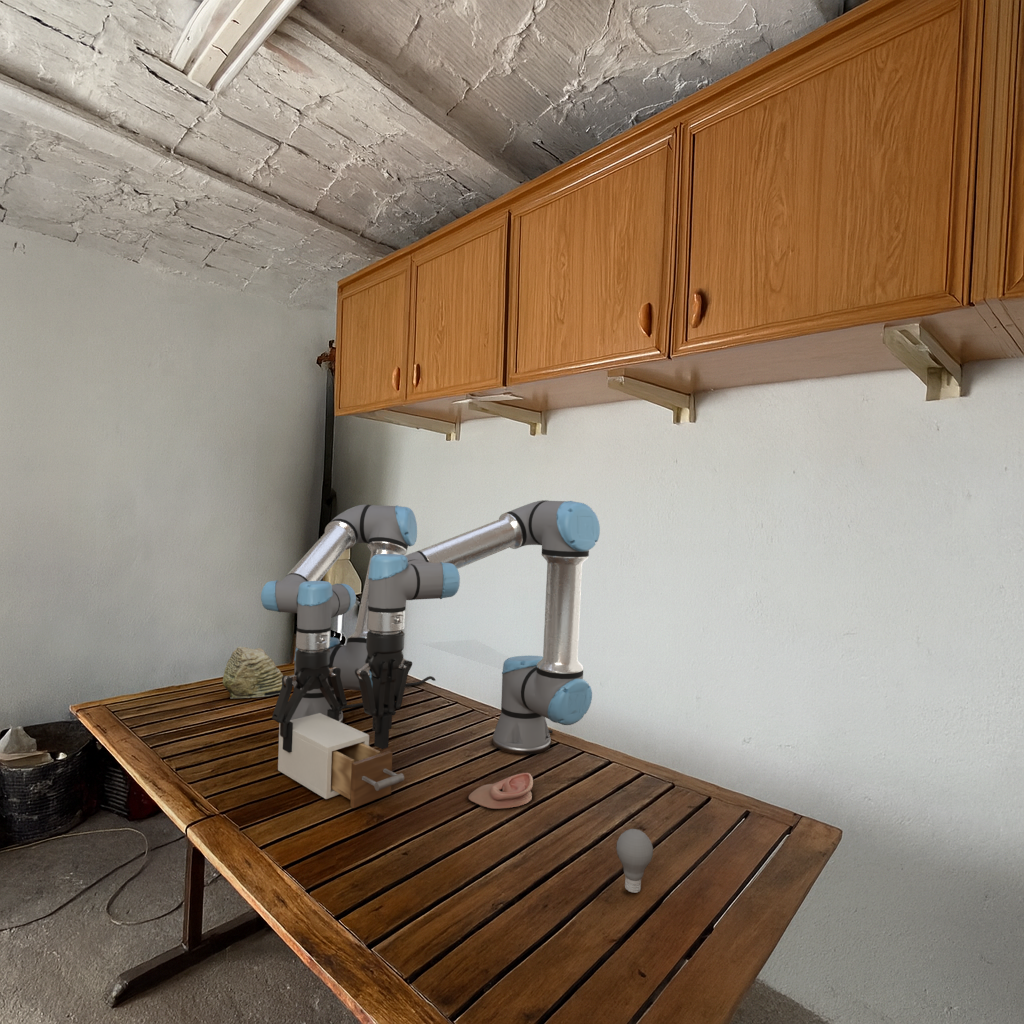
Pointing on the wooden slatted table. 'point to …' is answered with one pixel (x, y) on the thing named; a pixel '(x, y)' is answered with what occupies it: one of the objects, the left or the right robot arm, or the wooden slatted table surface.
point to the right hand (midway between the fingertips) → (381, 746)
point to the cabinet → (316, 751)
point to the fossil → (251, 674)
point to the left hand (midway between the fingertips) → (309, 744)
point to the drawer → (362, 773)
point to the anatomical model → (504, 792)
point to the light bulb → (634, 857)
